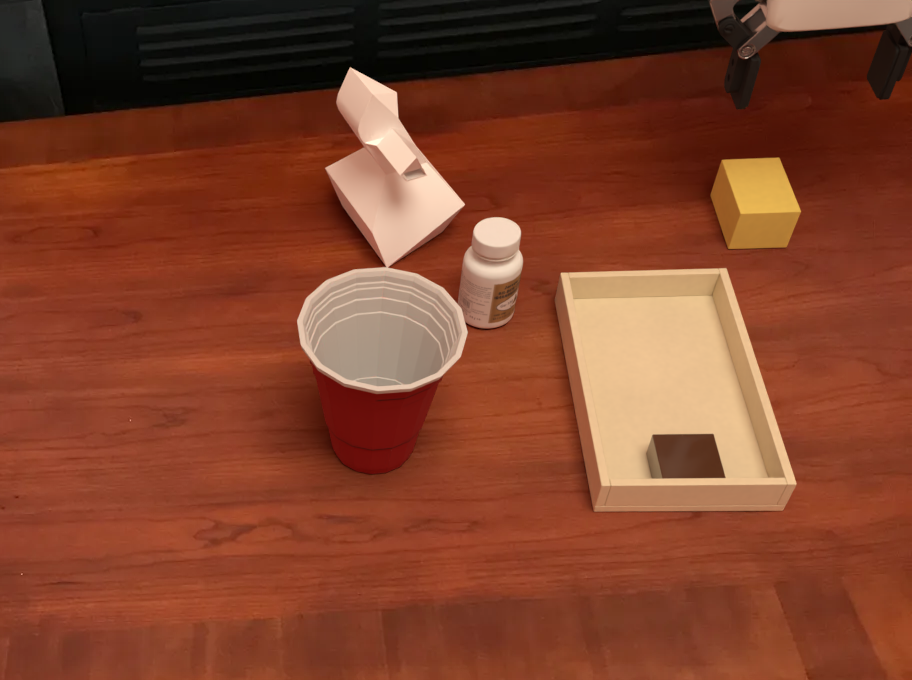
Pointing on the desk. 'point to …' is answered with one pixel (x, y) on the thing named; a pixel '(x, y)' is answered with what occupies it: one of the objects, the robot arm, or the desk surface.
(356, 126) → the white faceted sculpture
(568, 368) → the tray
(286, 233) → the desk surface
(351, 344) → the plastic cup
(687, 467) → the brown flat square block
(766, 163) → the yellow rectangular block
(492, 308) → the pill bottle
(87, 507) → the desk surface
